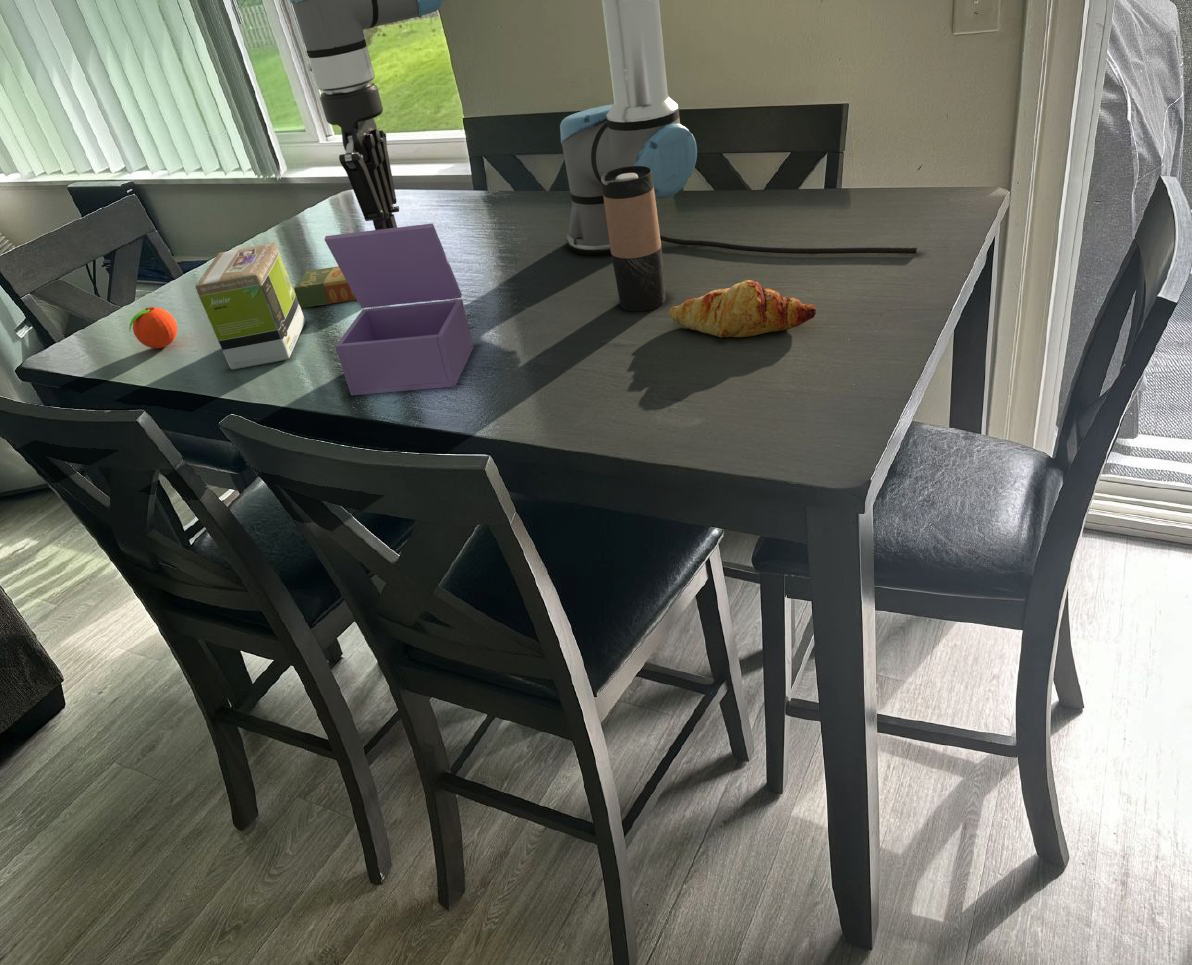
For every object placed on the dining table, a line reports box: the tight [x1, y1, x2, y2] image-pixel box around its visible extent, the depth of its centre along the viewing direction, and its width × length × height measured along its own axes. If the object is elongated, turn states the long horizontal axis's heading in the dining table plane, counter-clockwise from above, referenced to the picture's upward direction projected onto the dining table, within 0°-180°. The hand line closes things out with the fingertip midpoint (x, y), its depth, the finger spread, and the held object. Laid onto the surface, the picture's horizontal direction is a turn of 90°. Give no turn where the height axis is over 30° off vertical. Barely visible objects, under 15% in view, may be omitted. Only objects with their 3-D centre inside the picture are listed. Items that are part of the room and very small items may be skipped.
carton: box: [293, 265, 357, 309], centre depth 168 cm, size 8×16×4 cm, turn 88°
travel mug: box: [601, 166, 666, 312], centre depth 140 cm, size 8×8×20 cm
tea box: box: [195, 241, 306, 370], centre depth 150 cm, size 15×10×15 cm
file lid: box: [324, 222, 463, 309], centre depth 133 cm, size 13×16×1 cm
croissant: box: [669, 279, 817, 338], centre depth 132 cm, size 21×10×8 cm, turn 70°
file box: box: [334, 298, 475, 396], centre depth 135 cm, size 13×16×8 cm
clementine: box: [128, 306, 178, 349], centre depth 159 cm, size 8×7×7 cm
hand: (395, 261), depth 133 cm, fingers closed
